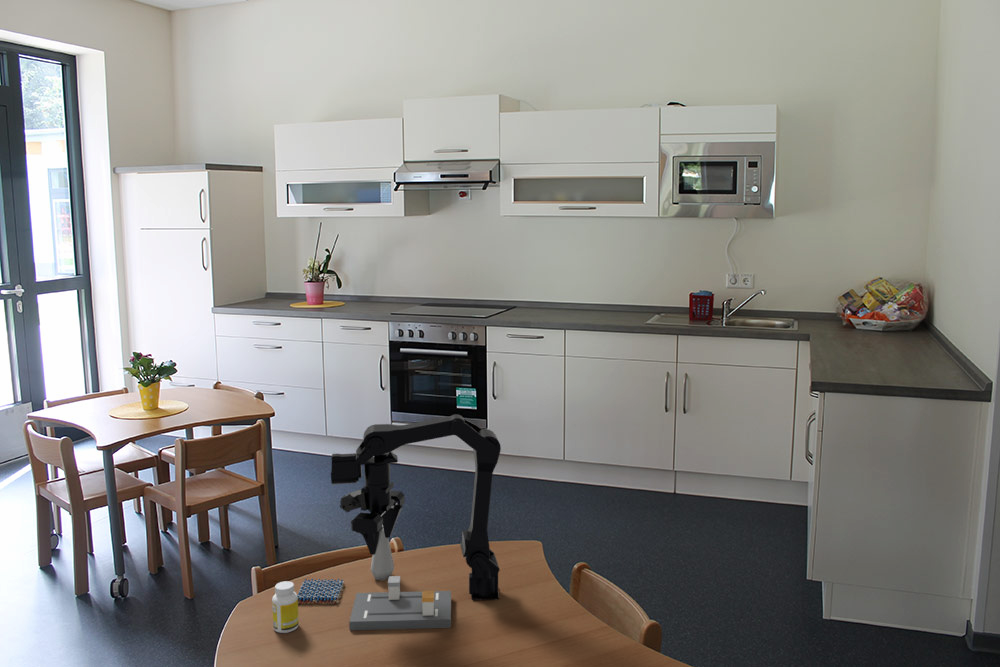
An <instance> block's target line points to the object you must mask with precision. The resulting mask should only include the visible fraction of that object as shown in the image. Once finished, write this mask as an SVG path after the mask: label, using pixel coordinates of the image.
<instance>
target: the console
mask: <svg viewBox="0 0 1000 667" xmlns="http://www.w3.org/2000/svg"><path fill="white" fill-rule="evenodd" d="M433 591H434V615H427V616H423V603H422V591H400V598H399V600H389V591H388V592H387V591H385V592H383V591H382V592H356V593H355V598H354V601H353V604H352V605H353V606H352V610H351V614H350V618H349V622H348V623H349V626H348V627H349V631H372V630H374V631H376V630H408V629H410V630H413V629H414V630H415V629H450V628H452V590H433Z"/></svg>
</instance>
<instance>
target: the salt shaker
mask: <svg viewBox="0 0 1000 667" xmlns="http://www.w3.org/2000/svg"><path fill="white" fill-rule="evenodd" d="M382 527H383V525H382ZM394 570H395V564H394V558H393V555H392V550H391V545H390V538H386V537H385V534H384V528H383V531H382V534H381V537H380V541H379V544H378V548H377V551H376V554H375V555H372V557H371V564H370V573H371V574H372V576H373V577H374V578H375V580H376V581H381V582H383V581H386V580H387V581H388V579H389V576H392V575H393V572H394Z"/></svg>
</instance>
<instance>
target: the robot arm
mask: <svg viewBox="0 0 1000 667" xmlns="http://www.w3.org/2000/svg"><path fill="white" fill-rule="evenodd" d="M451 436H456V437H457V438H459V439H460V440H461V441H463V442H464V443H465V444H466V445H467V446H469V447H470V448H472V450H473V452H472V453H473V458H474V460H473V461H474V465H475V473H474V482H473V483H474V485H473V494H472V502H471V503H472V505H471V517H470V524H469V527H468V529H467V530H464V529H462V531H461V535H462V540H461V542H460V549H461V553H462V557H463V558H465V562H466V565H467V566H468V567H469V568H470V569H471V572H469V573H468V594H469V595H471V596H470V597H471V598H470V599H471V600H472V601H489V600H490V601H491V600H493V601H494V600H500V594H499V572H500V566H499V563H498V560H497V557H496V554H495V552H494V551H493V550H491V549H490V542H489V534H488V526H489V525H488V524H489V516H490V505H491V504H490V503H491V494H492V486H493V484H492V482H493V475H494V470H495V469H496V466H497V465H498V462H499V458H500V454H501V450H502V448H501V443H500V441H499V439H498V437H497V435H496V433H494V431H492V430H490V429H488V428H484V429H483V428H481V427H480V426H478V425H477V424H475V423H473V422H472V421H469V420H468V419H466V418H464V417H463V416H462V415H460V414H458V413H457V414H452V415H450V416H445V417H440V418H439V417H438V418H435V419H434V418H433V419H428V420H423V421H419V422H413V423H408V424H407V423H406V424H399V425H398V424H390V423H385V424H384V423H380V424H371V425H369V426H368V427H366V429H365V431H364V432H363V437H362V438H363V440H362V441H361V442H360V444H359V445H358V447H357V449H356V450H355V453H332V454H331V469H330V482H331V485H332V486H334V485H347V484H358V482H360V479H362V478H363V476H362V474H363V472H362V471H363V470H362V466H364V467H363V468H364V484H365V485H364V486H363V487H361V489H358V490H355V491H352V492H349V493H347V494H344V495H343V496H342V497H341V498H340V500H339V503H340V505H339V508H340V509H342V510H343V511H344V512H345V513H350V512H351V511H353V510H358V509H360V511H368V512H369V513H368V512H359V513H358V514H357V515H356V516H355V517H354V518H353V519H352V520H351V521H350V530H351V531H352V532H355V533H358V534H361V536H362V537H363V539H364V541H365V544H366V547H367V550H368V552H369V554H370V555H372V556H373V555H375V554H376V551H377V548H378V544H379V541H380V537H381V534H382V531H383V528H384V534H385V537H386V538H388V539H390V538H391V536H392V534H393V531H394V528H395V526H396V524H397V521H398V518H399V516H400V514H401V512H402V509H403V507H404V504H405V503H406V498H405V497H406V495H405V494H404V493H403V492H402V491H401V490H392V489H393V488H394V482H392V481H391V464H395V463H396V464H397V463H398V462H399V459H398V455H397V454H395V453H394V452H393V451H395V450H397V449H398V448H400V447H403V446H405V445H409V444H414V443H418V442H425V441H426V442H427V441H430V440H434V439H441V438H445V437H446V438H447V437H451ZM382 525H383V527H382Z"/></svg>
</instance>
